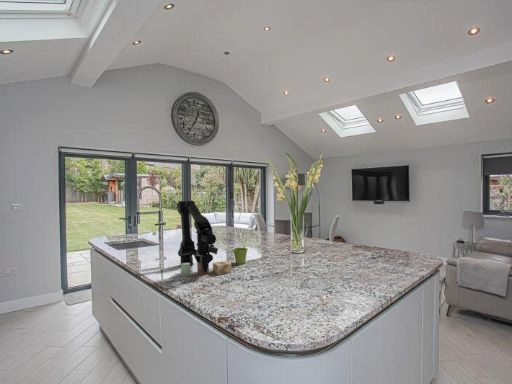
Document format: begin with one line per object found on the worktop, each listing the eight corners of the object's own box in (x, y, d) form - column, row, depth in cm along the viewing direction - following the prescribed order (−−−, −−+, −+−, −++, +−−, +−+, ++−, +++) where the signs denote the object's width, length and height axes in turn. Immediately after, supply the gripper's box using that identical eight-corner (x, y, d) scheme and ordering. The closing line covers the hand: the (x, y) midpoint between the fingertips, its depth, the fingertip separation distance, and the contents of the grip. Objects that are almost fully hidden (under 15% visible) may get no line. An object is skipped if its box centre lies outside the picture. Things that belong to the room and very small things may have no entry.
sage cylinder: (179, 275, 160) (178, 264, 160) (184, 273, 165) (183, 262, 165) (187, 276, 158) (187, 265, 158) (192, 273, 163) (191, 263, 163)
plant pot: (246, 265, 179) (245, 251, 179) (231, 264, 181) (230, 250, 181) (249, 261, 188) (249, 247, 188) (235, 260, 190) (235, 247, 190)
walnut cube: (200, 275, 160) (199, 264, 160) (197, 272, 165) (197, 262, 165) (208, 273, 163) (208, 263, 162) (206, 271, 167) (206, 261, 167)
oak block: (217, 275, 161) (217, 266, 161) (213, 271, 168) (212, 262, 168) (231, 273, 164) (231, 264, 164) (226, 269, 171) (226, 260, 171)
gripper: (222, 243, 159) (222, 272, 159) (211, 238, 175) (211, 264, 176) (201, 245, 154) (202, 275, 154) (192, 240, 170) (193, 266, 171)
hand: (203, 270), depth 164 cm, fingers open, 9 cm apart
